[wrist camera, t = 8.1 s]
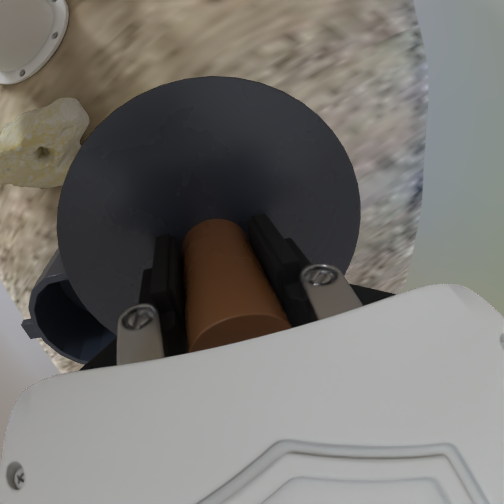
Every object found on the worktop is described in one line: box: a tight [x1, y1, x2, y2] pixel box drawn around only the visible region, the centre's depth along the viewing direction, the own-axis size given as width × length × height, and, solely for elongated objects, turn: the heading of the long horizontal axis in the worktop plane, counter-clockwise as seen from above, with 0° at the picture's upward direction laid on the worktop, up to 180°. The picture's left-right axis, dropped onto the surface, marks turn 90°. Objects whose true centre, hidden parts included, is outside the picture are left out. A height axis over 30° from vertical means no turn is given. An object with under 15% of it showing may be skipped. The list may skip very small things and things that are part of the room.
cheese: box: [0, 98, 89, 189], centre depth 21 cm, size 15×7×15 cm
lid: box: [57, 76, 360, 353], centre depth 10 cm, size 15×15×7 cm
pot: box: [21, 248, 117, 364], centre depth 30 cm, size 14×19×10 cm
